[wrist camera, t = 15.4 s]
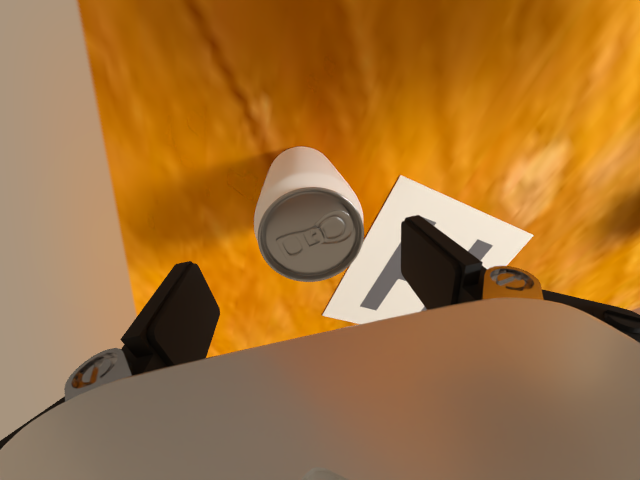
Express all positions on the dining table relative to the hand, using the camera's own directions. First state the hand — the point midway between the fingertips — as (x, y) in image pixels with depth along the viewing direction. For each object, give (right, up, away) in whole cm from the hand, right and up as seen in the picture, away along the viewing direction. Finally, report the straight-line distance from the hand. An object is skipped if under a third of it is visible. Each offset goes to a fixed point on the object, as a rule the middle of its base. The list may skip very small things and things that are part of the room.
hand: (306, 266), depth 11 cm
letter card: (+14, -3, +20) cm, 24 cm away
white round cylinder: (-1, +7, +12) cm, 14 cm away
